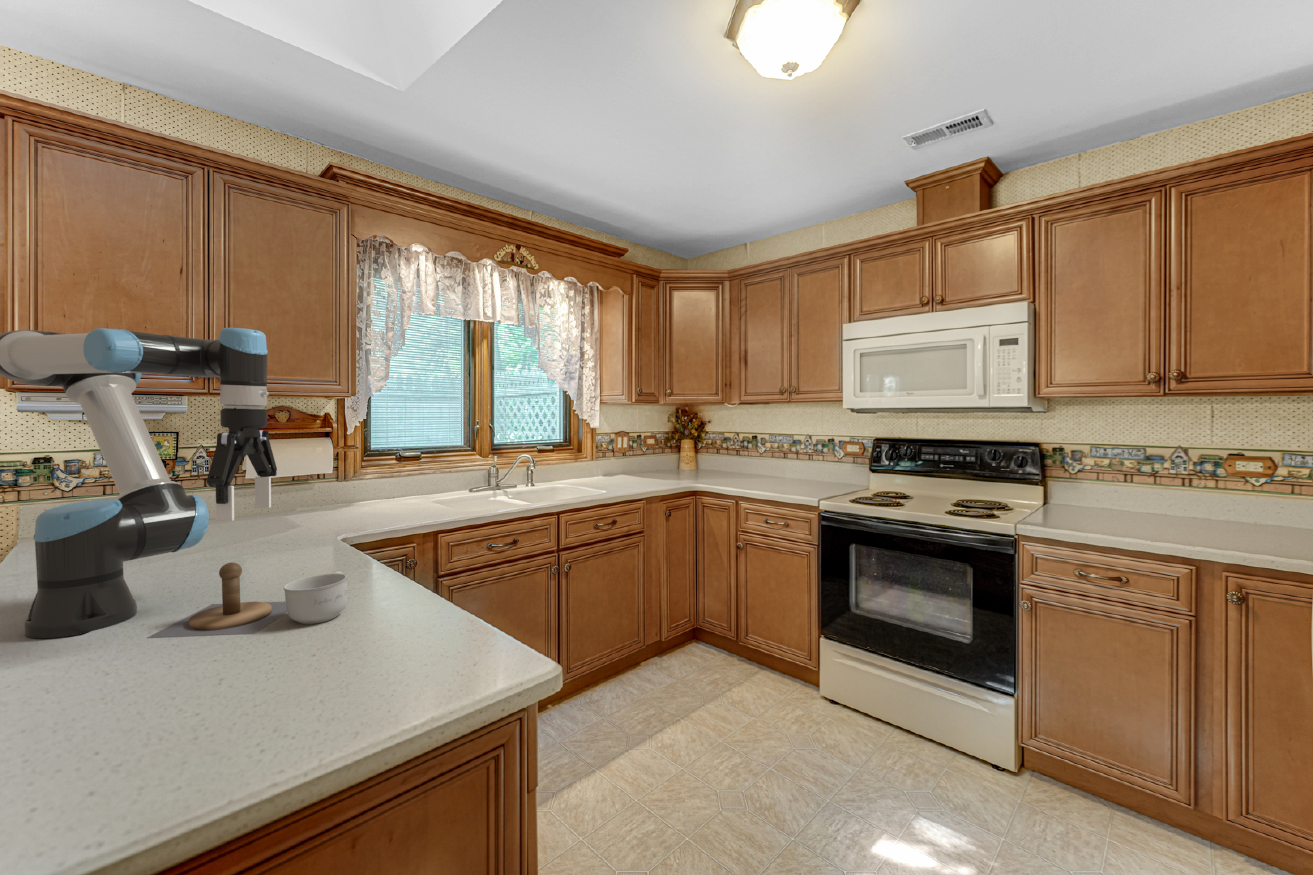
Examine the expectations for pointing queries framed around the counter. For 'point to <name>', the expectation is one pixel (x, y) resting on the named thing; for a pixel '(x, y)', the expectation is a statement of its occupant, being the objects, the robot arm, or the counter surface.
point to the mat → (184, 630)
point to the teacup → (316, 597)
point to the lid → (230, 605)
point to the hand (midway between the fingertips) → (245, 513)
